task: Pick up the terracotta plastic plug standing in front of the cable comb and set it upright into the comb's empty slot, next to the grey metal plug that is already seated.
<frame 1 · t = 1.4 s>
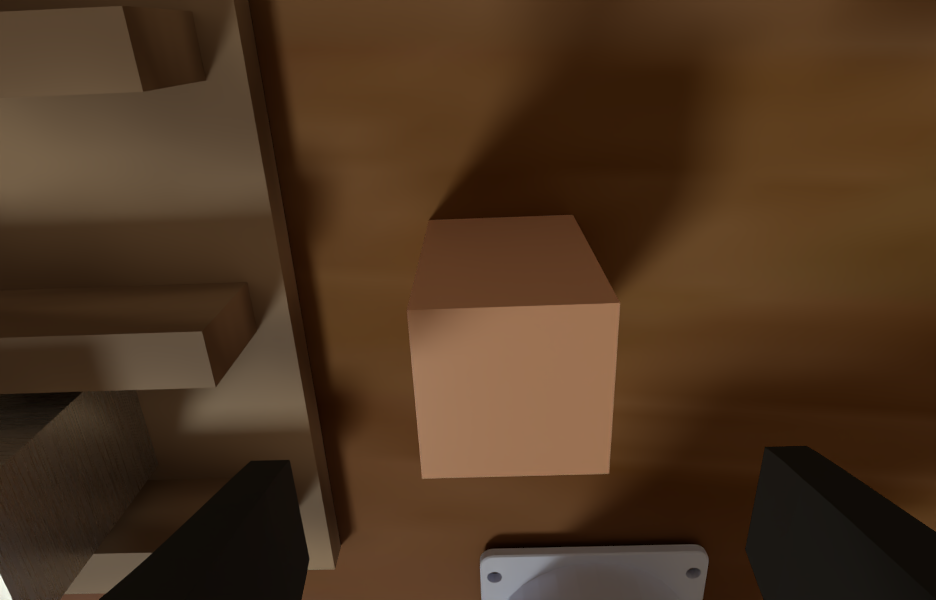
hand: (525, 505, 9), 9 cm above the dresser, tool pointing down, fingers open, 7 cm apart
cable comb: (63, 299, 18), on the dresser
grey plug: (77, 413, 18), point 1 cm above the dresser, touching cable comb
terracotta plug: (502, 283, 18), on the dresser
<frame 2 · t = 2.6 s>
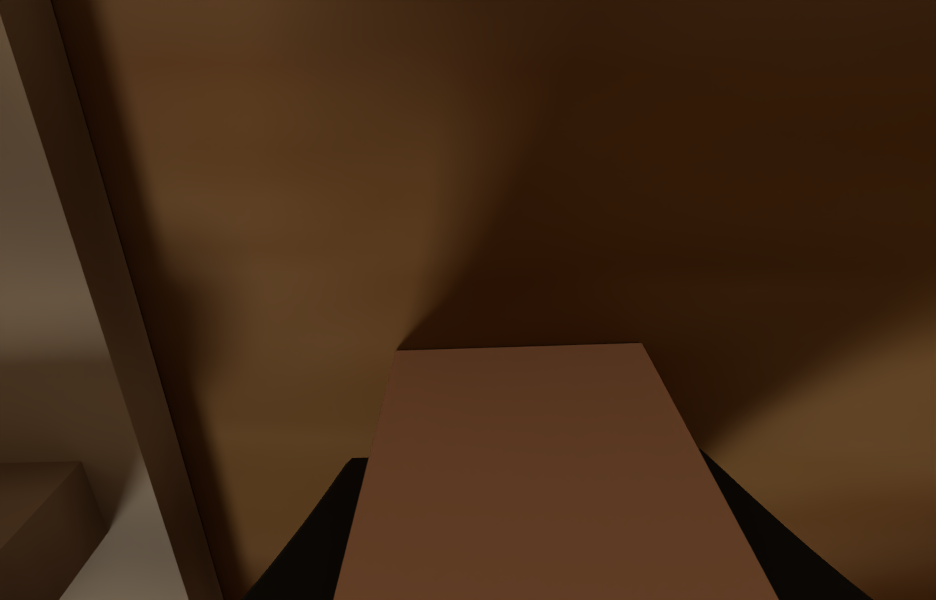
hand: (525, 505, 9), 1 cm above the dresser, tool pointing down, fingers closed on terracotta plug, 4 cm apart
terracotta plug: (518, 447, 11), on the dresser, touching gripper
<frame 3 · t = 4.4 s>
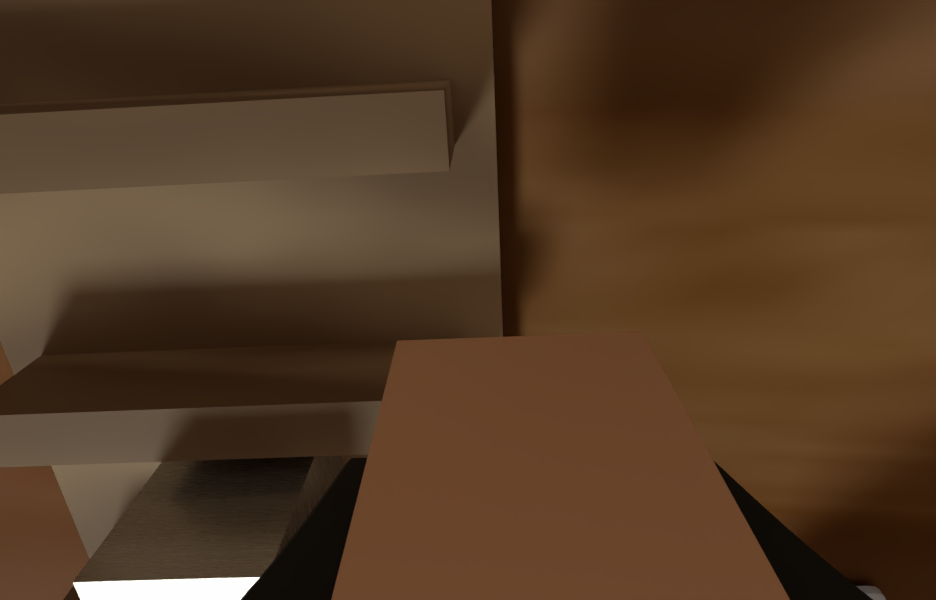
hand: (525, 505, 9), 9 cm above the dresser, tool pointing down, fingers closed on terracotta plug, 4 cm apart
cable comb: (267, 353, 18), on the dresser
grey plug: (277, 465, 18), point 1 cm above the dresser, touching cable comb
terracotta plug: (520, 436, 11), point 7 cm above the dresser, touching gripper
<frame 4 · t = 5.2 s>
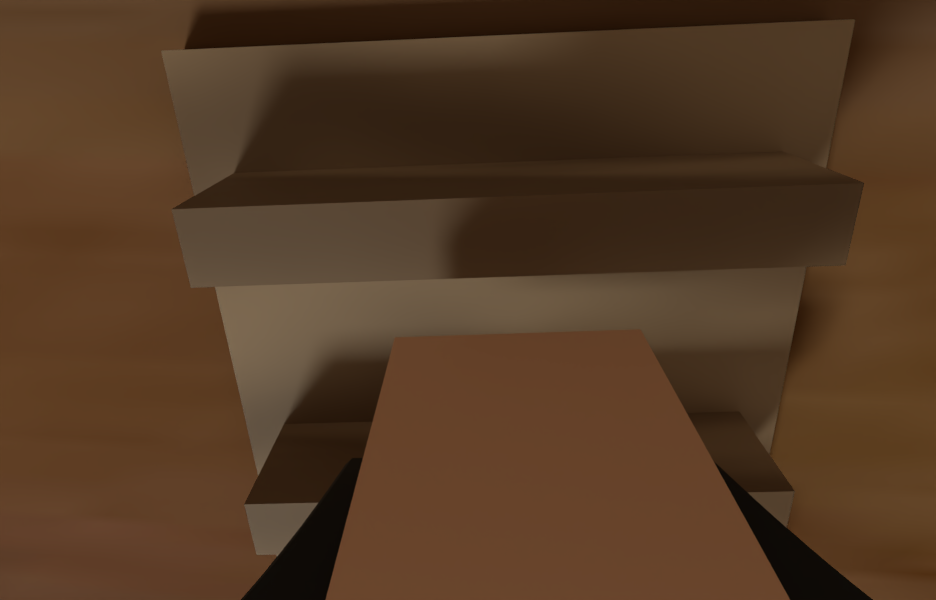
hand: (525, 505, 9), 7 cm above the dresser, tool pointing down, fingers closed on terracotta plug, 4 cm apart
cable comb: (507, 419, 17), on the dresser
terracotta plug: (518, 434, 11), point 6 cm above the dresser, touching gripper
when the fingers open (4 cm above the dresser, at t = 6.1 s): terracotta plug drops 1 cm, resting on cable comb.
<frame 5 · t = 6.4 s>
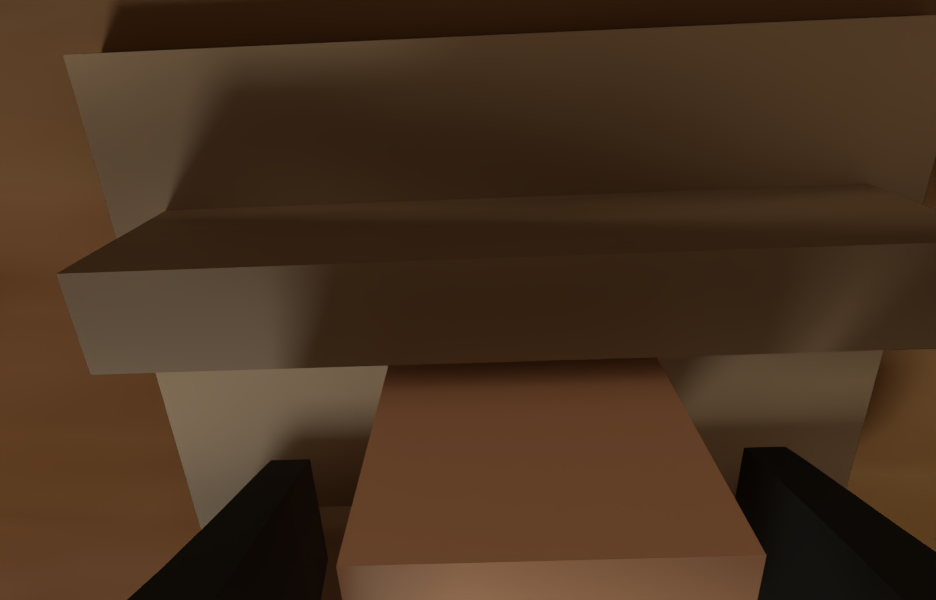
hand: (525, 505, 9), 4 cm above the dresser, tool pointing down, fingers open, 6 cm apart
cable comb: (513, 496, 14), on the dresser
terracotta plug: (514, 392, 12), point 1 cm above the dresser, touching cable comb
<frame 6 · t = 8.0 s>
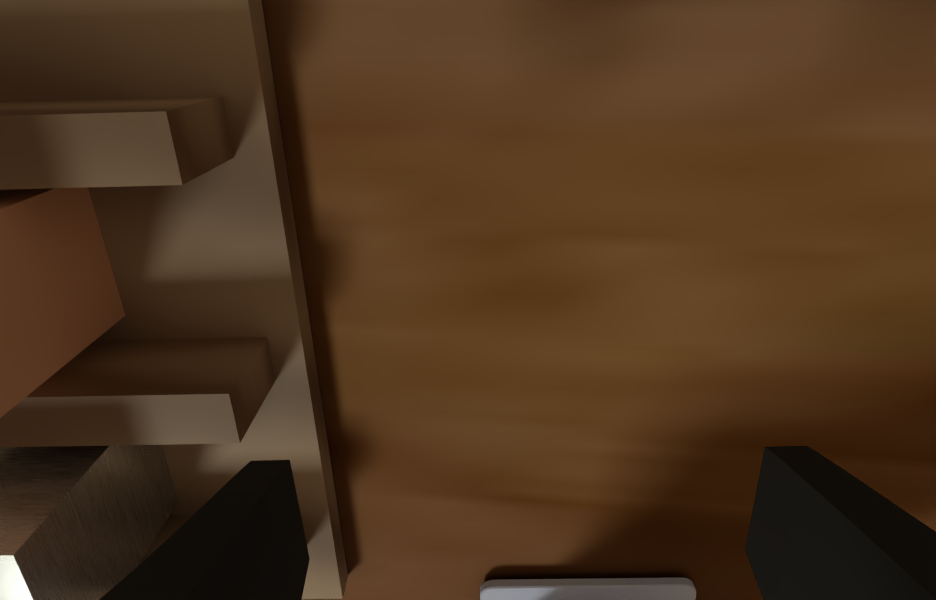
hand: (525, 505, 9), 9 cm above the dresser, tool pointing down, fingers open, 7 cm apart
cable comb: (91, 347, 19), on the dresser
grey plug: (102, 454, 19), point 1 cm above the dresser, touching cable comb
terracotta plug: (34, 251, 17), point 1 cm above the dresser, touching cable comb
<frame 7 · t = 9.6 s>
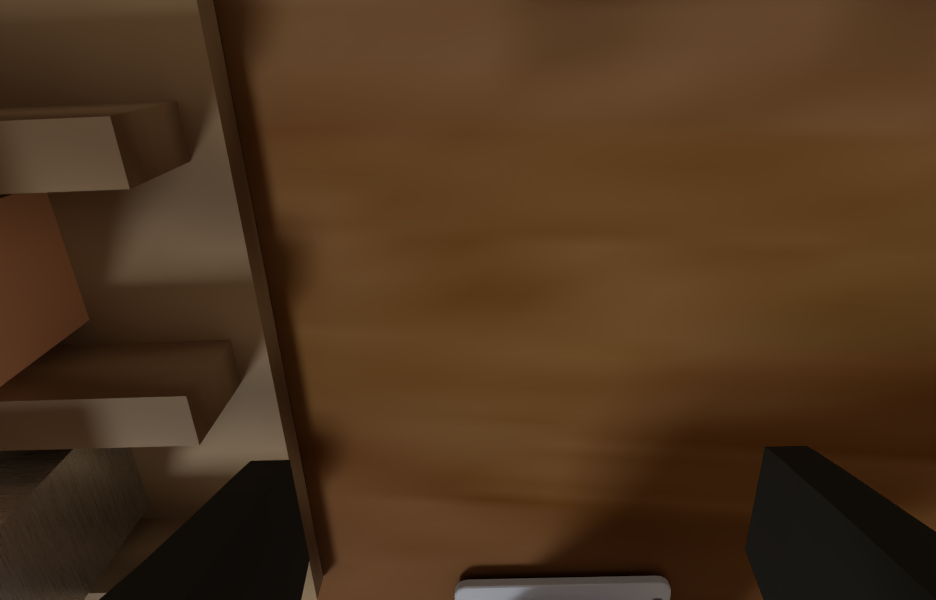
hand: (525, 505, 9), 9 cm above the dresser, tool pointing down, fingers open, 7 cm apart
cable comb: (59, 352, 19), on the dresser
grey plug: (73, 457, 20), point 1 cm above the dresser, touching cable comb
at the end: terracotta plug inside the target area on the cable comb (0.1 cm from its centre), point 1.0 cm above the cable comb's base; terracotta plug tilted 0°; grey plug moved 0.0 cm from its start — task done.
